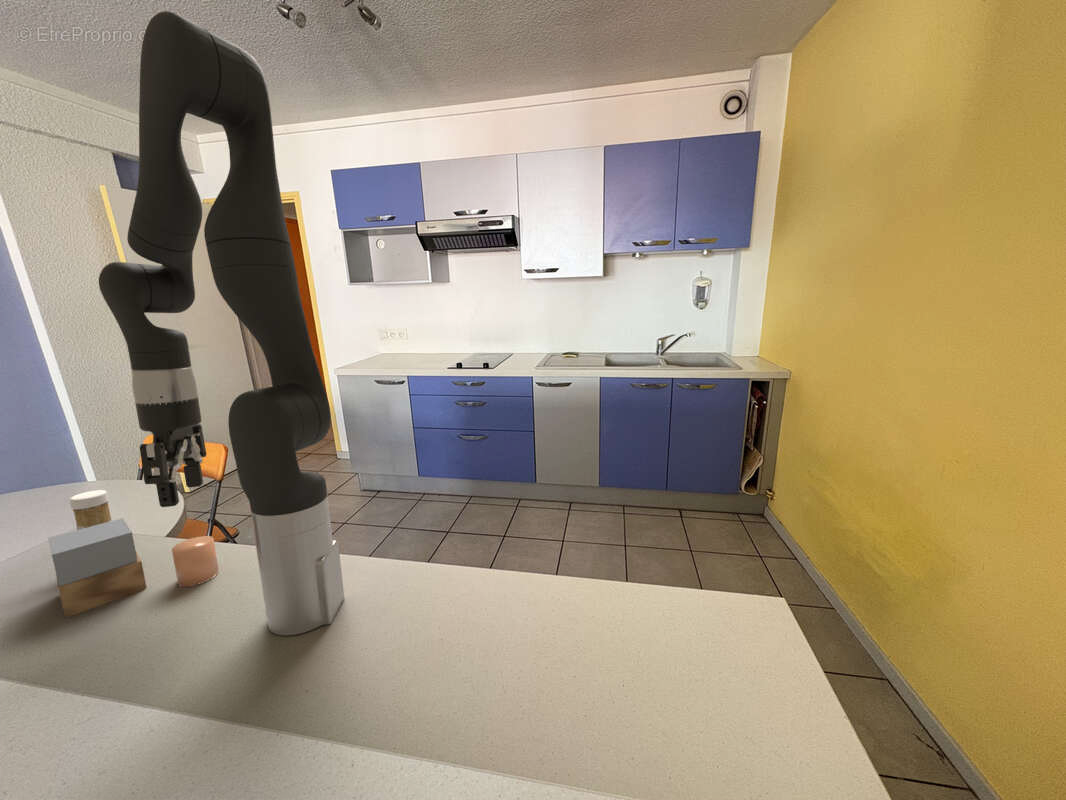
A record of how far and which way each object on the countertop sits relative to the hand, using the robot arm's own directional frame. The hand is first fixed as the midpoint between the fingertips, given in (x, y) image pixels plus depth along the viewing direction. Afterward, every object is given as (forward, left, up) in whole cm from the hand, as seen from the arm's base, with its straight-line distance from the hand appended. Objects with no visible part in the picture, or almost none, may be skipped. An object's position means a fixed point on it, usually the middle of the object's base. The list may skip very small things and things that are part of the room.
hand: (183, 495), depth 69 cm
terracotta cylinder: (0, 0, -15) cm, 15 cm away
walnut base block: (+13, +2, -15) cm, 20 cm away
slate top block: (+13, +2, -10) cm, 16 cm away
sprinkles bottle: (+20, -7, -15) cm, 26 cm away
